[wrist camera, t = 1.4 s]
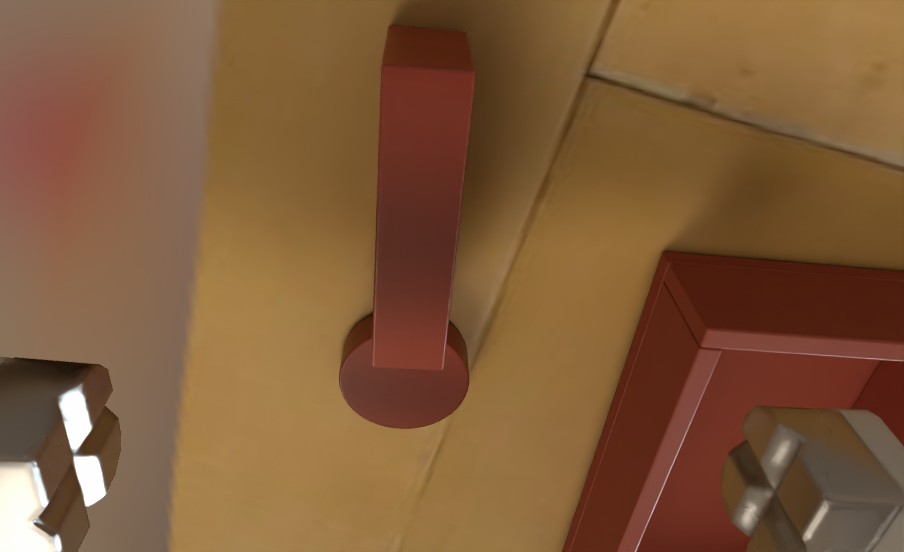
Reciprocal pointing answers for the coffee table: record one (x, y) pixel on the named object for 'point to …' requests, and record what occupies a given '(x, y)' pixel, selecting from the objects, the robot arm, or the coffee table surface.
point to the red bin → (731, 388)
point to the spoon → (415, 236)
